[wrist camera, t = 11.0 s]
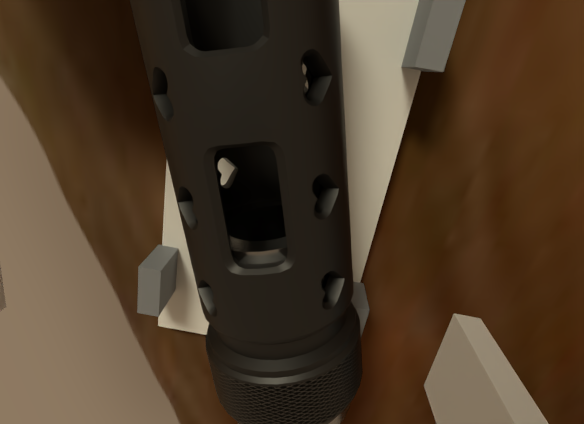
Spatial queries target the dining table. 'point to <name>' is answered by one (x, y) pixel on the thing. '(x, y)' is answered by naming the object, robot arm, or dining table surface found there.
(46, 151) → the dining table surface
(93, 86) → the dining table surface
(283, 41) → the muzzle brake
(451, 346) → the robot arm
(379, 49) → the mounting board
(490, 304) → the dining table surface
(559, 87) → the dining table surface
